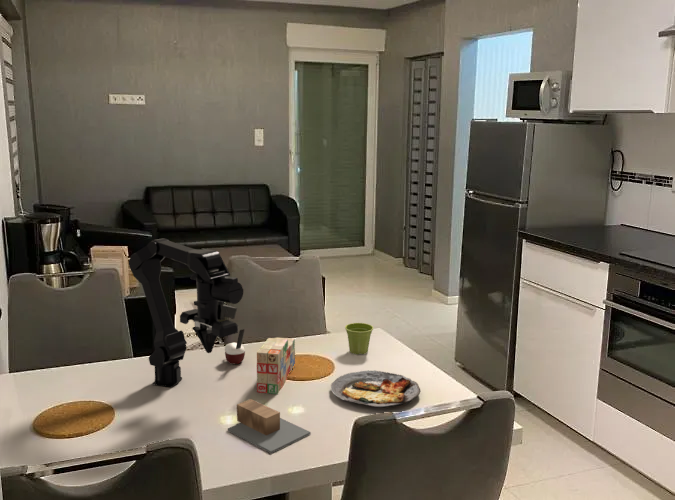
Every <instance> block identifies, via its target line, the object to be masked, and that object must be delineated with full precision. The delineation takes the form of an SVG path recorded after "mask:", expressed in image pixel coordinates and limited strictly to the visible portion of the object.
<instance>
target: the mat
mask: <svg viewBox="0 0 675 500" xmlns="http://www.w3.org/2000/svg"><path fill="white" fill-rule="evenodd" d="M227 431H228V432H230V433H231V434H234V436H237V437H239V438H241V439H243V440H245V441H247V442H248V443H251V444H252V445H254V446H256V447H258V448H259V449H262V450H264V451H266V452H268V453H269V454H271V455H272V454H273V453H277V451H280V450H282V449H283V448H286V447H288V446H290V445H292V444H294V443H295V442H298V441H299V440H302V439H304V438H305V437H308V436H310V435H311V434H312V433H311V431H310V430H307V429H305V428H303V427H301V426H299V425H296V424H294V423H293V422H290V421H288V420H286V419H283V418H281V417H280V429H279V430H277V431H275V432H273V433H271V434H269V435H264V434H262V433H260V432H258V431H256V430H254V429H252V428H250V427H248V426H246V425H244V424H242V423H240V422H238V424H235V425H232V426H230V427H227Z"/></svg>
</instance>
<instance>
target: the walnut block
mask: <svg viewBox="0 0 675 500" xmlns="http://www.w3.org/2000/svg"><path fill="white" fill-rule="evenodd" d="M236 414H237V415H236V419H237V422H238V423H242V424H244V425H246V426H248V427H250V428H252V429H254V430H256V431H258V432H260V433H262V434H264V435H269V434H271V433H273V432H275V431H277V430H279V429H280V418H281V412H280V411H279V410H275V409H273V408H271V407H269V406H267V405H264V404H263V403H260V402H258V401H256V400H254V399H252V398H250V399H247V400H245V401H242V402H240V403H237V404H236Z"/></svg>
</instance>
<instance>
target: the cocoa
mask: <svg viewBox="0 0 675 500" xmlns="http://www.w3.org/2000/svg"><path fill="white" fill-rule="evenodd" d="M244 334H245V328H242V329H240V330H239V331H238V338H237V342H230V343H226V345H225V346H224V356H225V359H226V361H227V363H229V364H231V365H237V364H241V363H242V362H243V361H244V359H245V355H246V350H245V347H244V345H243V339H244Z"/></svg>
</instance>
